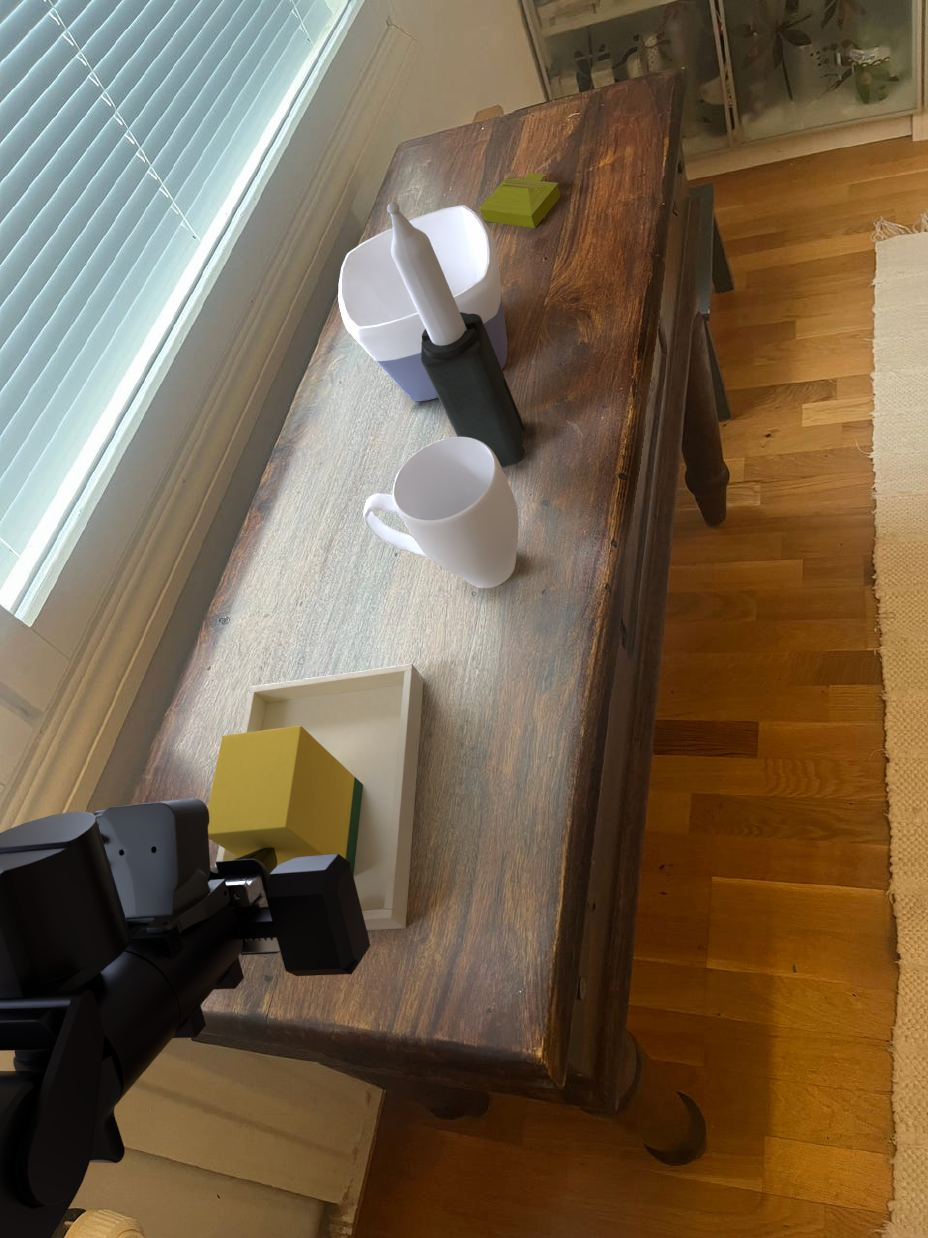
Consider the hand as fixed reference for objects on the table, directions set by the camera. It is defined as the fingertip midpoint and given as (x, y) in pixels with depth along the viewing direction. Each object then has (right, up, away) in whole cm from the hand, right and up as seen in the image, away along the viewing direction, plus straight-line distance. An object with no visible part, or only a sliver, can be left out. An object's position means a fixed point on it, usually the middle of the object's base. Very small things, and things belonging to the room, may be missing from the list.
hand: (270, 854), depth 61 cm
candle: (+16, +31, +23) cm, 42 cm away
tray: (+2, +2, +9) cm, 9 cm away
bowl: (+12, +41, +32) cm, 54 cm away
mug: (+13, +19, +17) cm, 29 cm away
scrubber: (+2, 0, +7) cm, 7 cm away
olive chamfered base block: (+19, +61, +42) cm, 76 cm away
